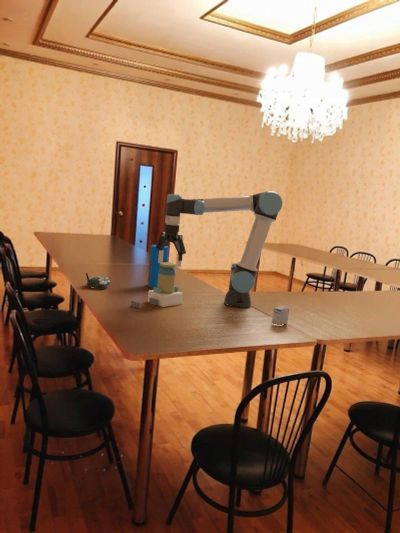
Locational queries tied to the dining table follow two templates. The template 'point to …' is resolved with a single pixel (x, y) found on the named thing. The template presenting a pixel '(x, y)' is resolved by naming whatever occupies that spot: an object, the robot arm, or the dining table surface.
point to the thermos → (155, 265)
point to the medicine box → (280, 315)
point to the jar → (167, 277)
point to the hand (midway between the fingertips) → (169, 264)
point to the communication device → (98, 282)
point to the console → (162, 298)
